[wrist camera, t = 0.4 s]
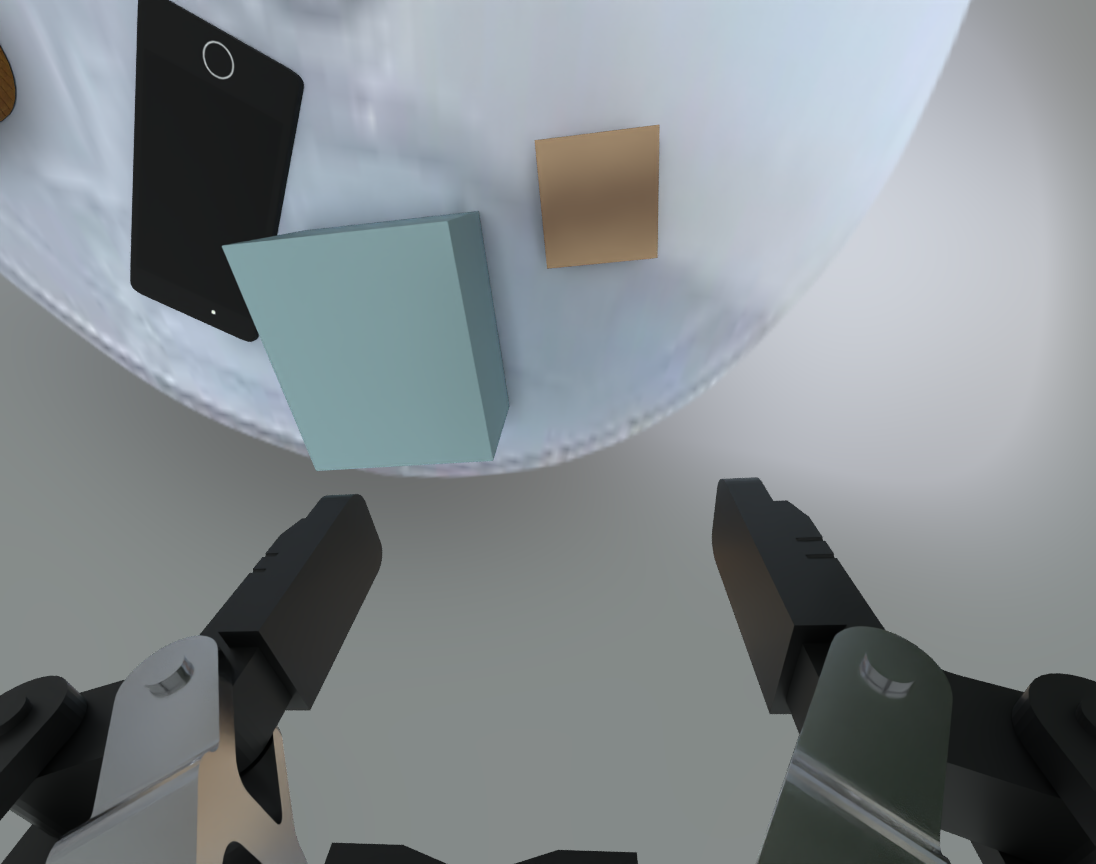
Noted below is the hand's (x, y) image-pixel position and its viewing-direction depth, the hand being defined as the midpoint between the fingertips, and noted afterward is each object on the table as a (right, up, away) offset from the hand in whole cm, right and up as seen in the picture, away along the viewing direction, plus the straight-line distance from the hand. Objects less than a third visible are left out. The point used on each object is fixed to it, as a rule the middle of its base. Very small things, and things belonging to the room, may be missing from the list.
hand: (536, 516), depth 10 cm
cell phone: (-22, +18, +20) cm, 34 cm away
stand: (-10, +10, +23) cm, 26 cm away
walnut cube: (+3, +17, +18) cm, 25 cm away
